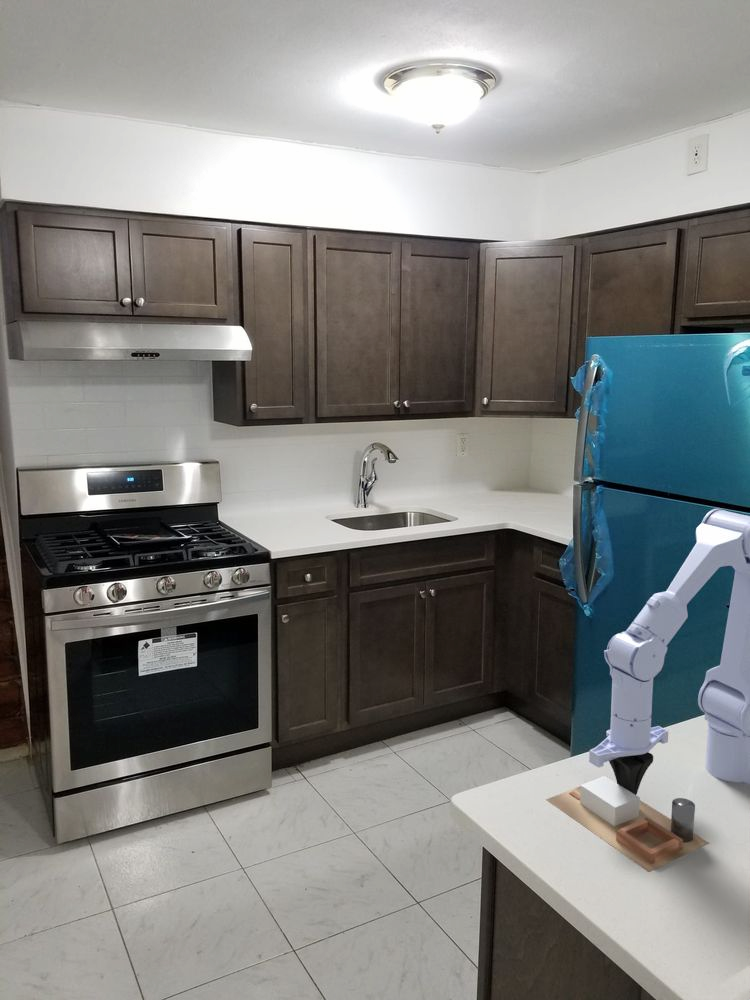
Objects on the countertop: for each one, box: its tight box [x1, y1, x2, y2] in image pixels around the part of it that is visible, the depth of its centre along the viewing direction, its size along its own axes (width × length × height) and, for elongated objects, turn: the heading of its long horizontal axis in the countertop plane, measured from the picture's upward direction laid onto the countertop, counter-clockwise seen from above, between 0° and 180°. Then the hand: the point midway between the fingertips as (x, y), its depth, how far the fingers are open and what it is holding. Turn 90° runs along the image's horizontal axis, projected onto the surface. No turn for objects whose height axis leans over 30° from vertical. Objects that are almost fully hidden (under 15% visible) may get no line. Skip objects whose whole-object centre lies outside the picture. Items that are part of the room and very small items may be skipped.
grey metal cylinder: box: [670, 797, 696, 843], centre depth 112 cm, size 3×3×5 cm
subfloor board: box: [546, 786, 710, 873], centre depth 117 cm, size 12×20×2 cm, turn 30°
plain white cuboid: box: [579, 775, 641, 826], centre depth 119 cm, size 5×7×3 cm
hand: (627, 796), depth 121 cm, fingers closed
